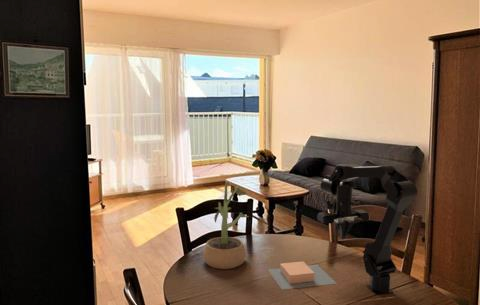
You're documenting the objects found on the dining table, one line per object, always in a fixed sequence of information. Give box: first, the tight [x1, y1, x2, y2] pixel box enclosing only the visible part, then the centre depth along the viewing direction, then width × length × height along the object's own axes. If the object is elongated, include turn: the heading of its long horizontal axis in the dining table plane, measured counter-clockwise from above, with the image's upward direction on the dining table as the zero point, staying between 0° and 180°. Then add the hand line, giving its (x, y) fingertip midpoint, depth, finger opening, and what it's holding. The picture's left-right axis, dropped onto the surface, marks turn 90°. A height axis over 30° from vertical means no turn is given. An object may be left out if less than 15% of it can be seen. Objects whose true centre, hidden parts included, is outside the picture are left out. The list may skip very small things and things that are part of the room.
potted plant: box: [202, 182, 250, 270], centre depth 155 cm, size 22×18×30 cm
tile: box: [279, 261, 315, 284], centre depth 140 cm, size 10×3×9 cm
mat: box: [267, 264, 338, 290], centre depth 141 cm, size 16×20×1 cm
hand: (342, 238), depth 146 cm, fingers closed
